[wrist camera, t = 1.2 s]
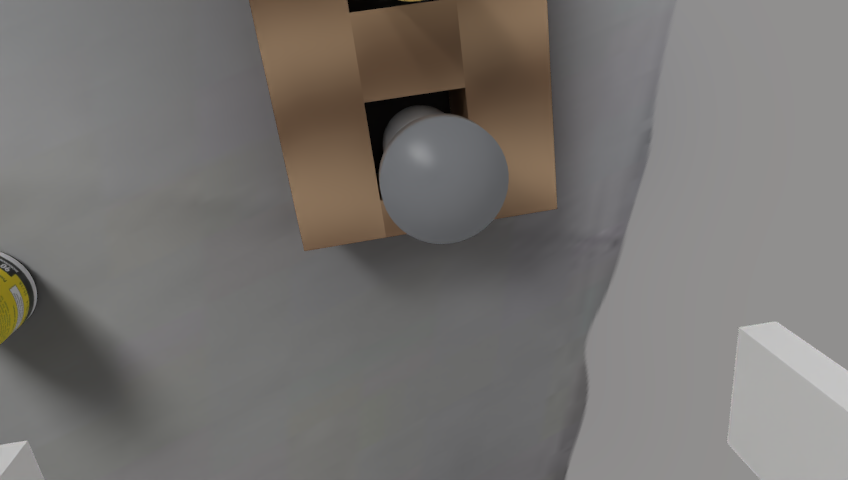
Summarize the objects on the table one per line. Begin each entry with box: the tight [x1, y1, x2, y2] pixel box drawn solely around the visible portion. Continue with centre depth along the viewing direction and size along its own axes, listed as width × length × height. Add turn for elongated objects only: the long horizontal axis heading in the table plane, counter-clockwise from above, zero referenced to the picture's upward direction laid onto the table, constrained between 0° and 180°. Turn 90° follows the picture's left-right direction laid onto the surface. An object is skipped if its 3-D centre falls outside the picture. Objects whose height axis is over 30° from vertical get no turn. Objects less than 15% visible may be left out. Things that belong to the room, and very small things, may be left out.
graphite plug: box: [379, 105, 509, 244], centre depth 23 cm, size 4×4×7 cm
